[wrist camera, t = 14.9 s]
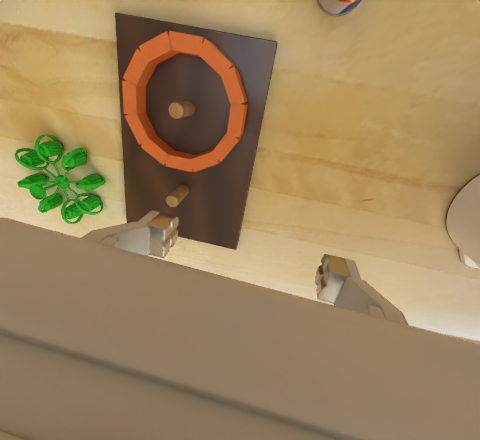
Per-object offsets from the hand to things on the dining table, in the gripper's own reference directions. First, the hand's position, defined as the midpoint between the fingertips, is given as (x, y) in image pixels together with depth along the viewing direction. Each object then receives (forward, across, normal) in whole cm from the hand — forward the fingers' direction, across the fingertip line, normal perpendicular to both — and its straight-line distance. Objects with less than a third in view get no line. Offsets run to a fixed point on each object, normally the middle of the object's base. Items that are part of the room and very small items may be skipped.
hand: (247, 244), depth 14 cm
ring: (+24, +13, -3) cm, 27 cm away
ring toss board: (+25, +13, +3) cm, 28 cm away
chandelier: (+24, +33, +12) cm, 43 cm away
